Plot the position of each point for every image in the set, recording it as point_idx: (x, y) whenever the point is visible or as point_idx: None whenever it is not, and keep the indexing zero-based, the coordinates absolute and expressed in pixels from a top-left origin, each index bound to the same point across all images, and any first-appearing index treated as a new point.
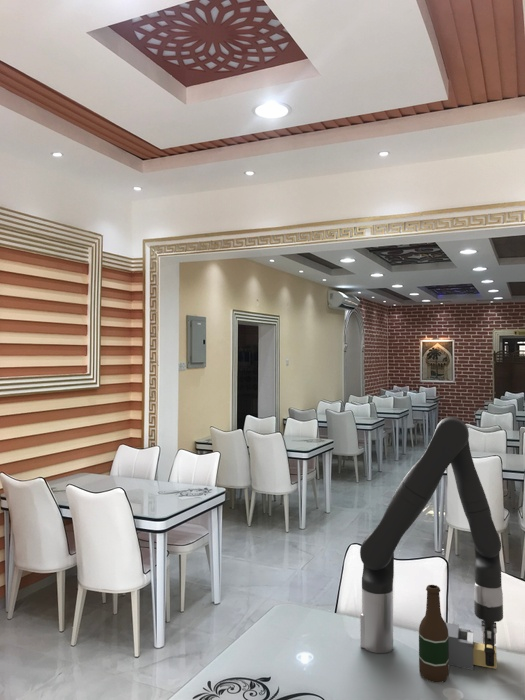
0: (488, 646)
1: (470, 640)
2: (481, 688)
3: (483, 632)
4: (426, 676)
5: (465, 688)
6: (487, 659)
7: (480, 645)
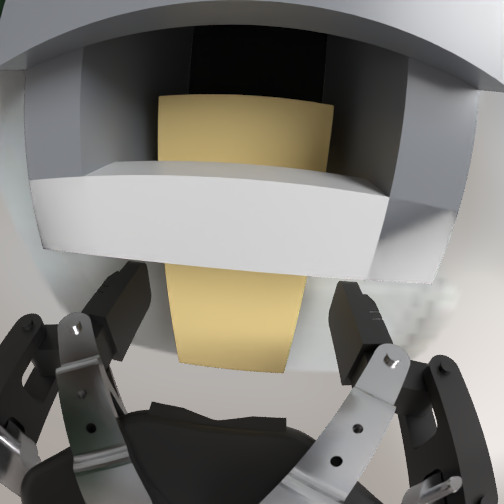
0: (259, 336)
1: (105, 222)
2: (31, 210)
3: (71, 446)
4: None
5: (9, 150)
6: (97, 293)
7: (258, 283)
